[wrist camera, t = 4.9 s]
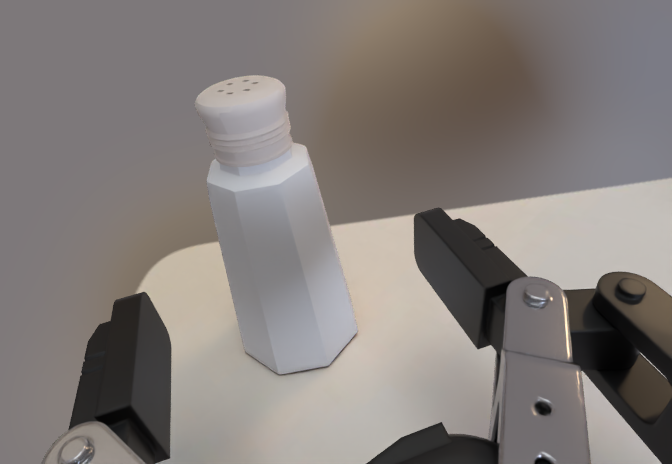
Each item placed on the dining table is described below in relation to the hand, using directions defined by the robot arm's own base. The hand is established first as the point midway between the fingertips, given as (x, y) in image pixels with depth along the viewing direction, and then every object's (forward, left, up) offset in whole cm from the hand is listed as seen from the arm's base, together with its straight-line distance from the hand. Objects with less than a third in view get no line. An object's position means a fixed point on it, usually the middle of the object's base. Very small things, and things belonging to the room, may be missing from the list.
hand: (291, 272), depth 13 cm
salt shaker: (+1, +4, -7) cm, 8 cm away
